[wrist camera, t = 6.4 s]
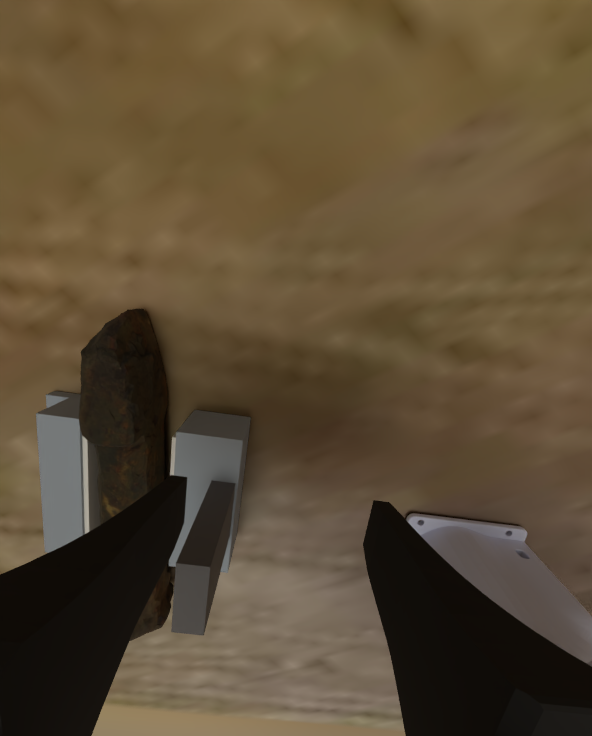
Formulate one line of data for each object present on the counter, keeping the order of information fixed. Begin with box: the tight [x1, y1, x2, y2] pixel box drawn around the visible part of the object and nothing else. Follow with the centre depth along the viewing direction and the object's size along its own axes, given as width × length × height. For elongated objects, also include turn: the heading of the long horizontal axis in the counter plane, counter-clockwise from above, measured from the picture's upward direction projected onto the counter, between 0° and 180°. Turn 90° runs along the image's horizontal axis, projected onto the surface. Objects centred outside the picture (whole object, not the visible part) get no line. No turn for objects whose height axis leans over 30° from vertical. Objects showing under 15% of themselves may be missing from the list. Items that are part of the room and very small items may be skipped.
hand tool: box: [79, 309, 173, 641], centre depth 20 cm, size 23×5×6 cm, turn 172°
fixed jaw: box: [36, 391, 100, 552], centre depth 21 cm, size 4×10×4 cm, turn 172°
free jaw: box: [169, 410, 251, 635], centre depth 18 cm, size 4×10×10 cm, turn 172°
